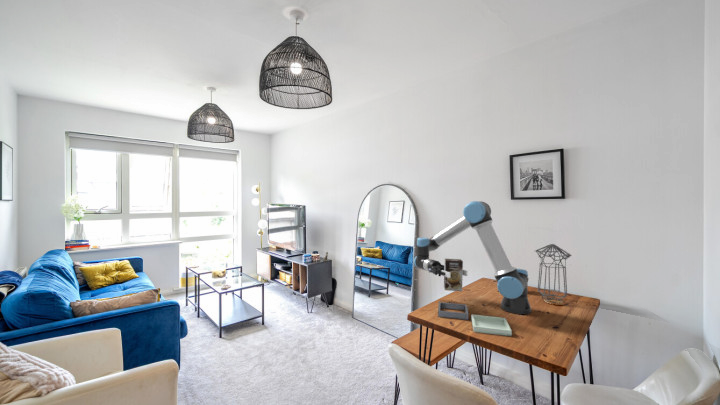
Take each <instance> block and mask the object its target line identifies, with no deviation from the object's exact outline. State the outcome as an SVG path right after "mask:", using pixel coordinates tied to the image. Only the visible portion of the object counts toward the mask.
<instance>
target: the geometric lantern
mask: <svg viewBox="0 0 720 405" xmlns="http://www.w3.org/2000/svg"><path fill="white" fill-rule="evenodd" d="M534 252H536V253H537V255H538V258H540V260H541V261H540V262H539V270H538V280H537V282H538V283H537V292H538V293H539V294H540V295H541V299H542V298H543V299H544V298H545V299H547V301H548V300H549V301H550V300H557V298H558V299H559V300H560V301H561V300H562V301H563V299H564V298H567V297H568V286H567V285H568V284H567V267H566V265H567V264H566V260H568V259H569V258H571V257H572V254H571V253H569V252H567V251H566V250H564V249H563V248H561V247H559V246H558V245H556V244H554V243H549V244H547V245H545V246H543V247H541V248H538V249H535V250H534ZM551 253H552V254H551ZM556 253H557V255H556ZM542 255H543V256H542ZM546 257H548V258H551V259H552V260H553V262H552V263H550V262H548V263H545V258H546ZM556 258H559V259H556ZM562 260H564V264H563V263H562ZM557 262H558V263H557ZM548 265H549V266H548ZM552 265H554V266H552ZM543 267H545V272H544V285H543V286H544V288H543V289H542V288H541V284H542V274H543ZM547 268H548V288H546V284H547V281H546V280H547ZM552 268H554V283H553V286H554V287H553V289H552V291H553V293H552V294H551V289H550V288H551V287H550V286H551V284H550V282H551V281H550V279H551V277H550V274H551V273H550V270H551V269H552ZM560 269H562V273H563V289H564V291H563V292H564V293H563V292H562V291H561V289H560V288H561V287H560V286H561V285H560V283H561V282H560ZM557 270H558V271H557ZM557 273H558V274H557ZM556 275H558V277H557V276H556ZM556 278H558V290H557V289H556ZM542 291H543V292H542ZM546 291H548V294H547V293H546ZM555 292H556V293H555ZM554 293H555V294H554ZM558 293H561V294H562V295H558ZM556 297H557V298H556Z"/></svg>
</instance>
